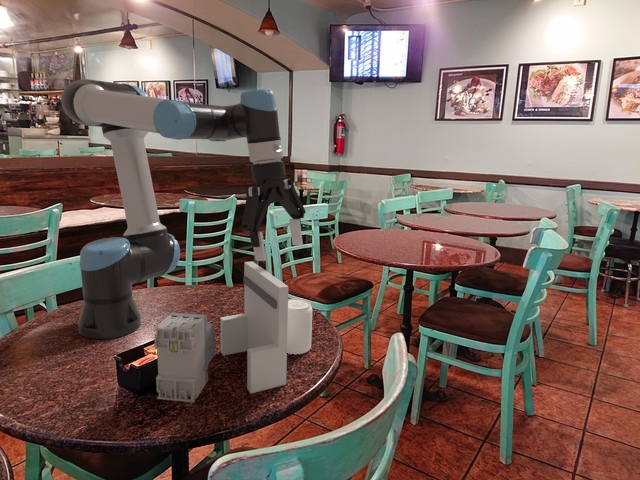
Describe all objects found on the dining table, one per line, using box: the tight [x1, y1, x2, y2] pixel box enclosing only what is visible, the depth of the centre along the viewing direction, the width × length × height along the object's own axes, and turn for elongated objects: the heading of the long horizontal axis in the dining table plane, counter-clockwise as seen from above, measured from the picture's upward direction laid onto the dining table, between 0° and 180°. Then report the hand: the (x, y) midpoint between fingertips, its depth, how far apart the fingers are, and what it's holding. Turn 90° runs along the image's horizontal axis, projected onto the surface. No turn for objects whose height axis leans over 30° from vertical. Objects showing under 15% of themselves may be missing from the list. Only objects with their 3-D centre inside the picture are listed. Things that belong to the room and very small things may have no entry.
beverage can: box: [287, 297, 313, 356], centre depth 111 cm, size 8×8×12 cm
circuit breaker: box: [154, 312, 216, 403], centre depth 94 cm, size 8×14×15 cm, turn 174°
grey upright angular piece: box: [219, 260, 289, 394], centre depth 100 cm, size 20×8×22 cm, turn 30°
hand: (280, 252), depth 106 cm, fingers open, 13 cm apart
